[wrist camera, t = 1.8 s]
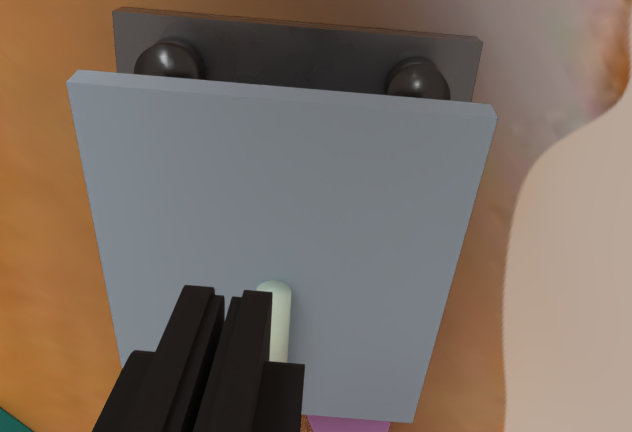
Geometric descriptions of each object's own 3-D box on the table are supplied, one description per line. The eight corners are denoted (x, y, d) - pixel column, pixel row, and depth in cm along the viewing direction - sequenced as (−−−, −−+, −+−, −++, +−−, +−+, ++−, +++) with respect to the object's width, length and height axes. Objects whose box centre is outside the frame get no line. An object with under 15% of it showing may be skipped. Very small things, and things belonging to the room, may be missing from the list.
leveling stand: (122, 7, 29) (69, 28, 24) (476, 36, 30) (510, 65, 24) (146, 335, 39) (113, 408, 33) (413, 357, 39) (426, 433, 33)
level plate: (78, 69, 22) (47, 101, 20) (491, 103, 23) (507, 139, 20) (134, 382, 34) (118, 426, 31) (410, 405, 34) (414, 450, 31)
